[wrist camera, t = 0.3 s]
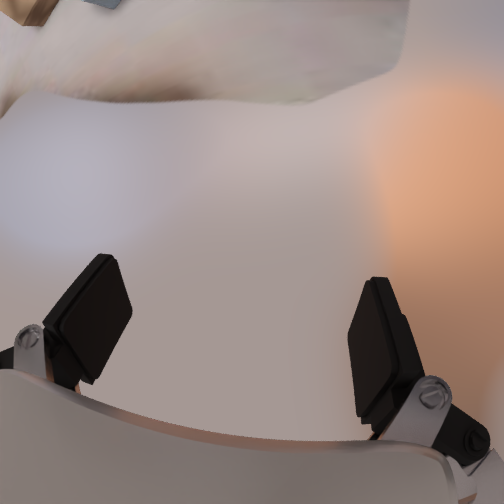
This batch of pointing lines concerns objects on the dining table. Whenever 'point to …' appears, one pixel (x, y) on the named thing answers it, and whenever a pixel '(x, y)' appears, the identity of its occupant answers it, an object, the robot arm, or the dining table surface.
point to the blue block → (104, 3)
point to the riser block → (28, 11)
